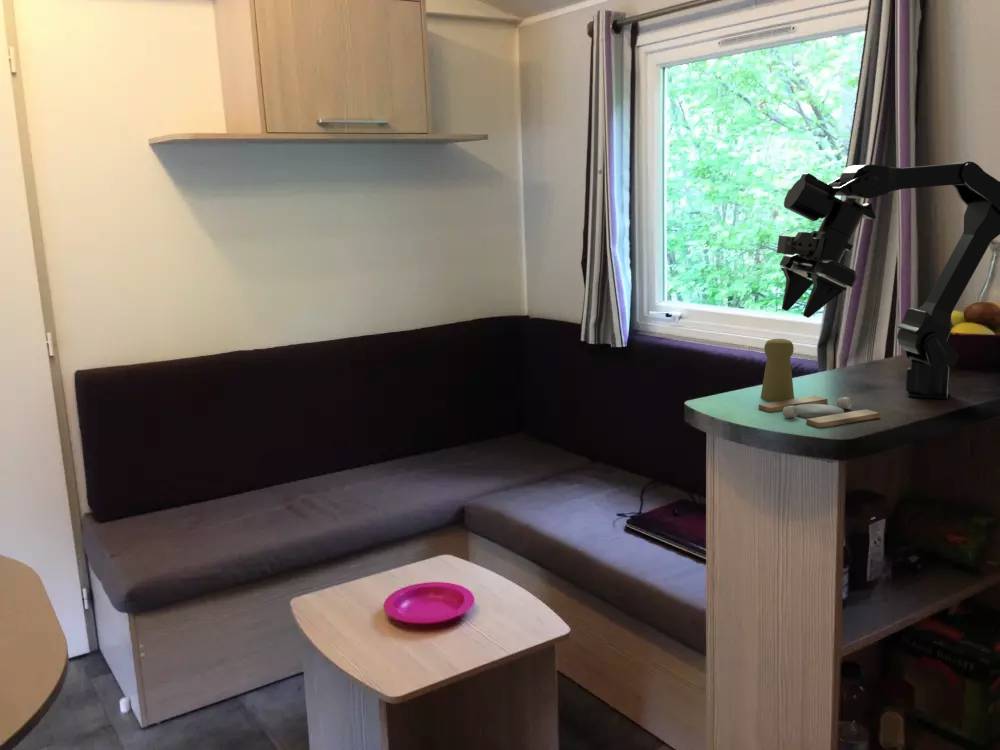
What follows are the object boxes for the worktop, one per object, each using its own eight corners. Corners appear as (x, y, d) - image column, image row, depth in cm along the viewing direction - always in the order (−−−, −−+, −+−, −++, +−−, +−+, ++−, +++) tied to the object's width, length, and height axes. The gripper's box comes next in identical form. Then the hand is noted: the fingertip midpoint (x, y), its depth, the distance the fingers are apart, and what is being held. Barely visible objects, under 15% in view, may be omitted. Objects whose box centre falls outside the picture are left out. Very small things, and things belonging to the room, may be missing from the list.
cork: (770, 402, 165) (772, 342, 163) (754, 395, 171) (756, 337, 168) (800, 399, 166) (802, 340, 164) (784, 392, 172) (786, 335, 170)
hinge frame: (816, 399, 166) (816, 389, 165) (880, 417, 152) (880, 405, 152) (757, 408, 160) (757, 397, 160) (818, 428, 147) (818, 416, 147)
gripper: (775, 212, 167) (737, 289, 169) (820, 214, 148) (776, 301, 151) (826, 237, 168) (788, 313, 171) (876, 242, 150) (833, 327, 152)
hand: (794, 313), depth 161 cm, fingers open, 9 cm apart
